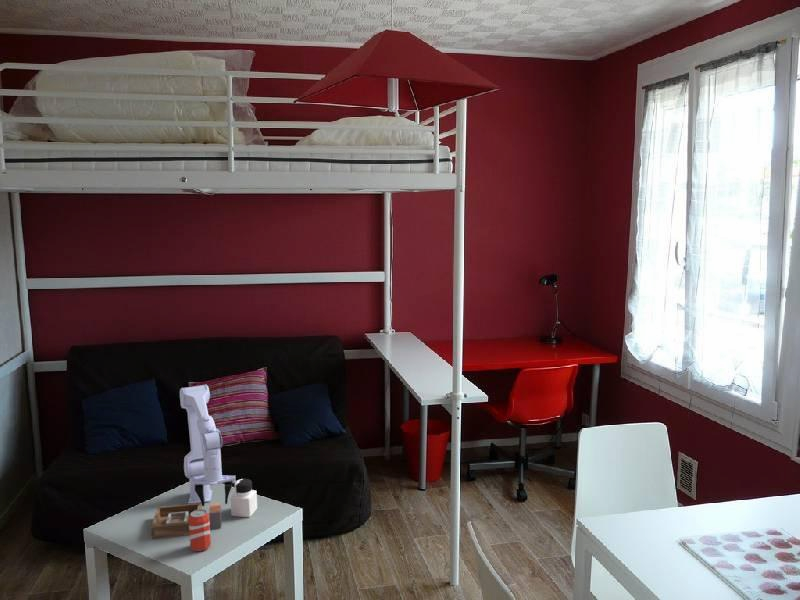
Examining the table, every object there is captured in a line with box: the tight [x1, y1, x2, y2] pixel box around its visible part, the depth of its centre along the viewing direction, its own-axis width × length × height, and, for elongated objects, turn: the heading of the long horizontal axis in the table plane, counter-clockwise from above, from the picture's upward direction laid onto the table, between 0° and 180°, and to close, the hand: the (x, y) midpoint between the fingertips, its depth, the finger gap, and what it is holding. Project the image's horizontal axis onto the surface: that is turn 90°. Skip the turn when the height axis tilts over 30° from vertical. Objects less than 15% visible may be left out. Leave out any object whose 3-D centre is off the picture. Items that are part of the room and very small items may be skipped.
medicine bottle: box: [230, 478, 258, 518], centre depth 239 cm, size 7×7×12 cm
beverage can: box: [189, 508, 212, 552], centre depth 215 cm, size 6×6×12 cm
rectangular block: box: [208, 502, 223, 531], centre depth 230 cm, size 5×4×7 cm
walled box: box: [150, 502, 203, 540], centre depth 231 cm, size 15×15×4 cm
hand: (214, 503), depth 229 cm, fingers open, 7 cm apart
